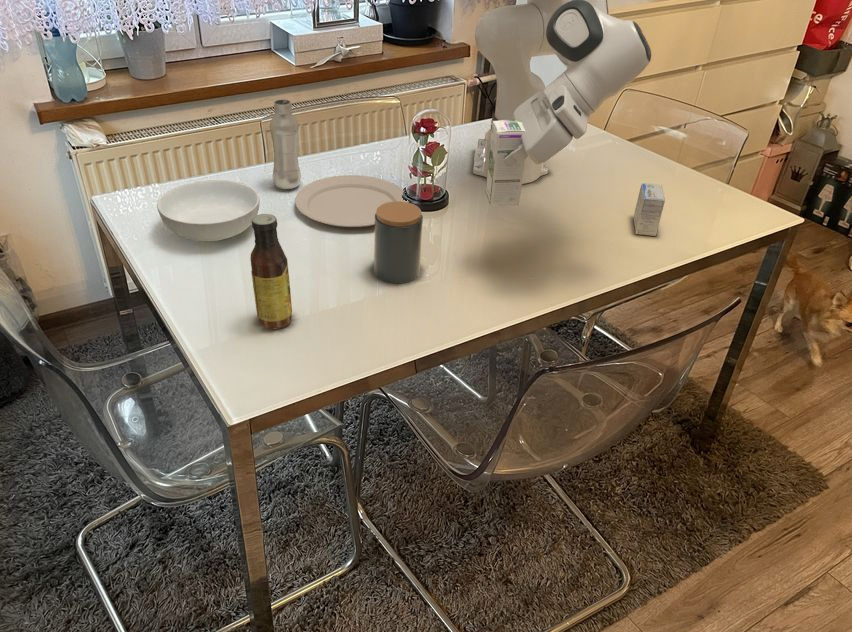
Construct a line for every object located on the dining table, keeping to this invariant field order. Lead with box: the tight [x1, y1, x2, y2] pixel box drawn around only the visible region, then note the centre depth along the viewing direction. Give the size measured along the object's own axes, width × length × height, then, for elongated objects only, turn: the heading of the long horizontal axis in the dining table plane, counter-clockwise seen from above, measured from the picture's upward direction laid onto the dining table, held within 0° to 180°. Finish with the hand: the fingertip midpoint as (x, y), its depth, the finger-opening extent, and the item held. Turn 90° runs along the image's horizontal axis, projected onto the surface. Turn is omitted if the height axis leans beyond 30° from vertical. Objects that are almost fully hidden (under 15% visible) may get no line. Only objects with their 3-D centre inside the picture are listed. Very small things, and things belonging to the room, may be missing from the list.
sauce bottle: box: [249, 213, 293, 330], centre depth 124 cm, size 7×6×20 cm
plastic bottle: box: [269, 99, 302, 190], centre depth 168 cm, size 6×7×20 cm
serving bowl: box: [156, 179, 261, 242], centre depth 154 cm, size 21×21×7 cm
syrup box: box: [485, 120, 525, 207], centre depth 136 cm, size 6×6×14 cm
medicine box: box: [632, 182, 666, 237], centre depth 159 cm, size 8×4×9 cm, turn 168°
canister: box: [373, 201, 424, 284], centre depth 140 cm, size 9×9×13 cm
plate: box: [294, 174, 410, 228], centre depth 165 cm, size 26×26×2 cm
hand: (503, 155), depth 135 cm, fingers closed on syrup box, 6 cm apart
